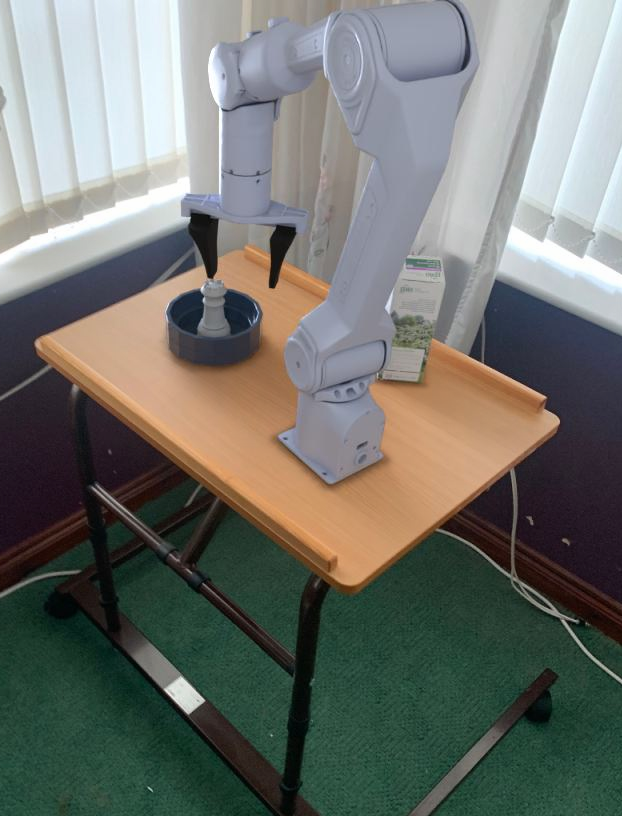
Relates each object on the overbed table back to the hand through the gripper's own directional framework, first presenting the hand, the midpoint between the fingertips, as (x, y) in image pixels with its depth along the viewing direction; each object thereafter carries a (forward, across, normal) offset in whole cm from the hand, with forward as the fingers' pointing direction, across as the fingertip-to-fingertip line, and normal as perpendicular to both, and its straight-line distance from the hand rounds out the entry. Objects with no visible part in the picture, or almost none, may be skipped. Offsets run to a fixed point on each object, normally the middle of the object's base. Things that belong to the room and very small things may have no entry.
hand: (242, 279), depth 96 cm
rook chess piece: (+10, +4, -1) cm, 10 cm away
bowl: (+10, +4, -1) cm, 11 cm away
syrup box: (+10, -20, -2) cm, 23 cm away
